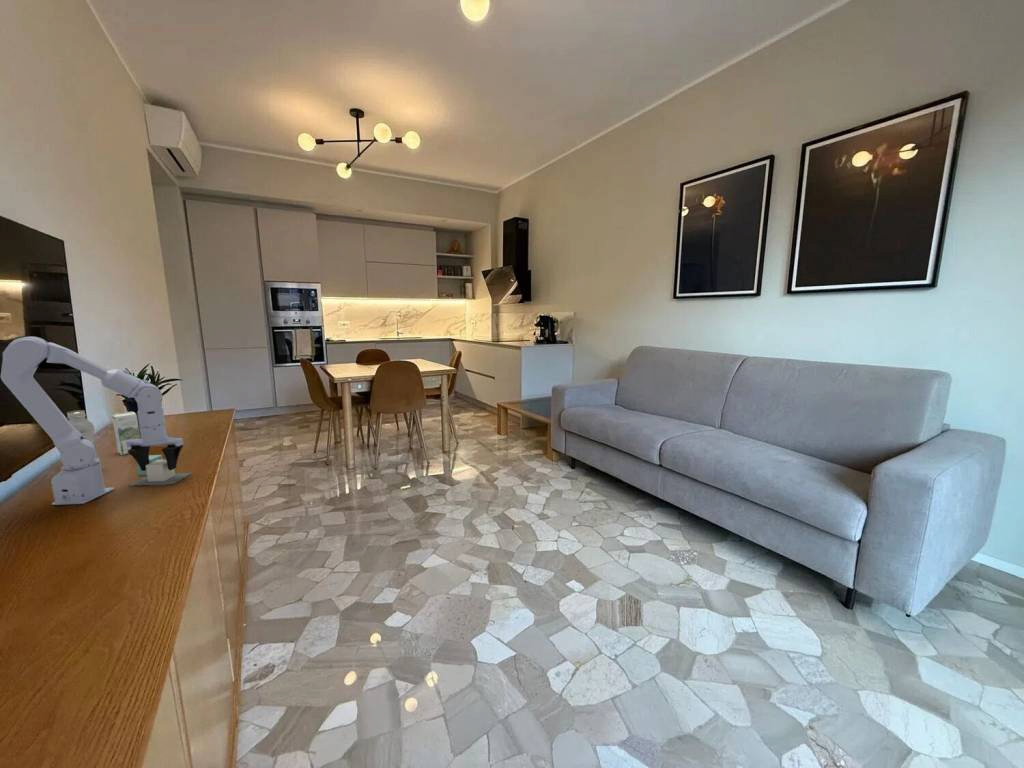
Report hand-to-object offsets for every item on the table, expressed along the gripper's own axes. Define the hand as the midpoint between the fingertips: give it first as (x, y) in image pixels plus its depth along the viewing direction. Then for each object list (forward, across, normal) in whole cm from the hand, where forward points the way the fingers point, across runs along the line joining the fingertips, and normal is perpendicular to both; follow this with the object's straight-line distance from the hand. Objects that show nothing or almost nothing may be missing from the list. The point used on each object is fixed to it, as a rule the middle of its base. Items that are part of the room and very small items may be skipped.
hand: (159, 469), depth 123 cm
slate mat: (+3, 0, 0) cm, 3 cm away
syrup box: (+4, +32, -29) cm, 43 cm away
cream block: (+3, 0, 0) cm, 3 cm away
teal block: (+3, +8, -7) cm, 11 cm away
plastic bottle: (+4, +28, -8) cm, 29 cm away
